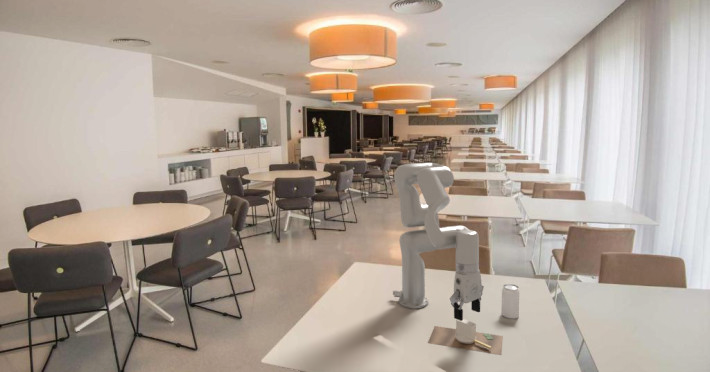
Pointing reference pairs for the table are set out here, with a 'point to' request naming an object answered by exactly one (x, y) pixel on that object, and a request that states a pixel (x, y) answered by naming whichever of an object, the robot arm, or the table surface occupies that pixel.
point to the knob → (467, 333)
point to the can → (510, 301)
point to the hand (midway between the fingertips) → (467, 315)
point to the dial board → (448, 339)
